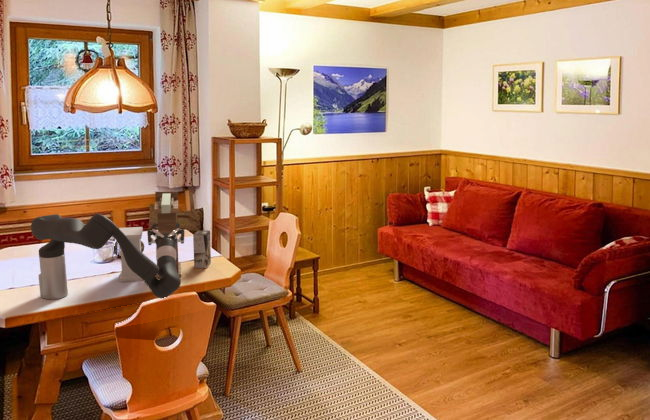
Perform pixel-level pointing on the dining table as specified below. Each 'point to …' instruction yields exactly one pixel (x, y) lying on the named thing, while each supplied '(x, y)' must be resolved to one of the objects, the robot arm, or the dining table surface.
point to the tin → (116, 247)
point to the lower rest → (126, 273)
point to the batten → (166, 203)
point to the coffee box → (202, 249)
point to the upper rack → (168, 219)
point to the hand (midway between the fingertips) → (166, 224)
